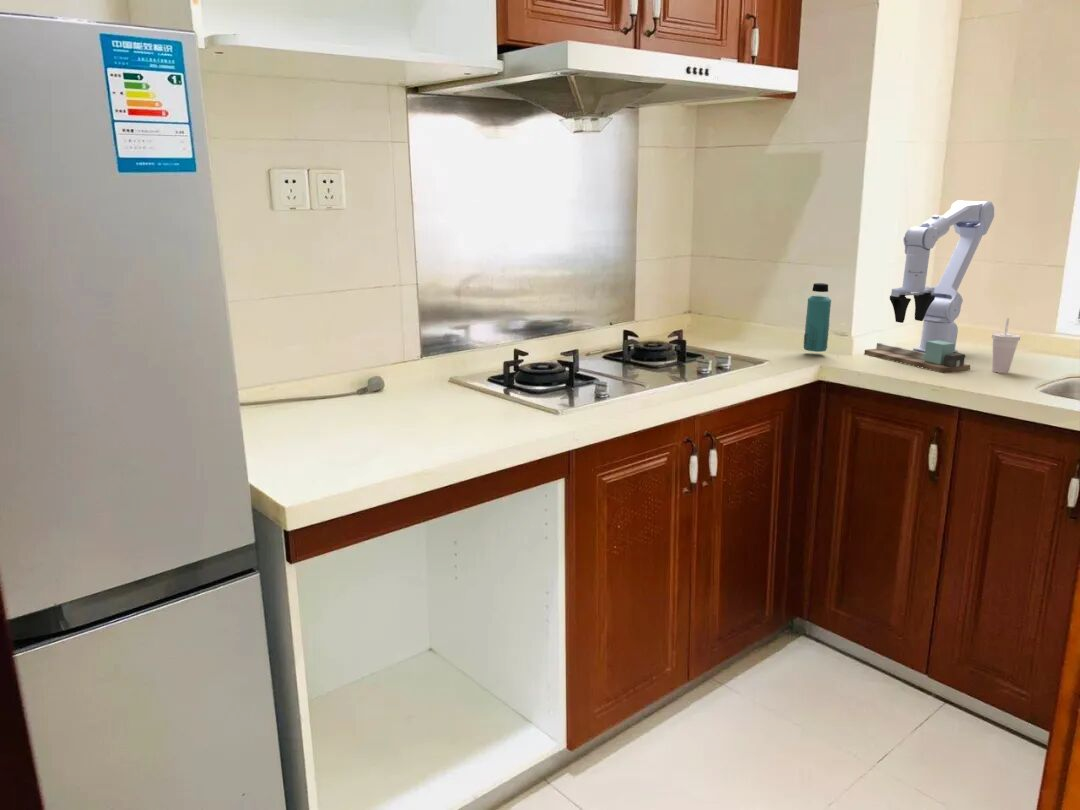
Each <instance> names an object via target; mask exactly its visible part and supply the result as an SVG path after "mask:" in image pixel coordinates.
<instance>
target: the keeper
mask: <svg viewBox="0 0 1080 810" xmlns="http://www.w3.org/2000/svg"><path fill="white" fill-rule="evenodd" d="M954 345H955V343H950V342H945V341H940V340H936V341H927V342H926V349H925V352H924V353H925V356H924V361H927V362H932V363H936V364H944V357H945V355H946V354H954V353H955V352H954Z"/></svg>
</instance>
